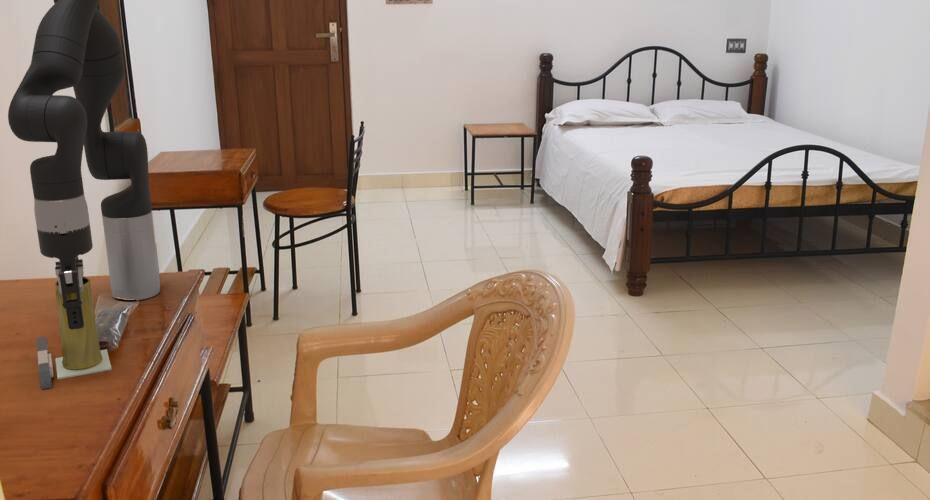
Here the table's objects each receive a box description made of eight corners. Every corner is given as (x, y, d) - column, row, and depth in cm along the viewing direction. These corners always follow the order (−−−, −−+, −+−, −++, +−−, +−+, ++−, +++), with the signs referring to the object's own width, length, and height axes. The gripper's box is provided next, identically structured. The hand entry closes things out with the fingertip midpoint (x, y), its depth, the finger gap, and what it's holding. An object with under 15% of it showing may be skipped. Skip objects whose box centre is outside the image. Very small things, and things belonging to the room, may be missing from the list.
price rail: (39, 354, 137) (36, 336, 136) (51, 352, 138) (48, 334, 137) (41, 389, 125) (38, 370, 124) (54, 387, 126) (52, 368, 125)
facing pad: (55, 359, 135) (55, 358, 135) (106, 350, 139) (106, 349, 138) (57, 379, 128) (57, 378, 128) (111, 369, 132) (111, 368, 132)
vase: (53, 367, 131) (42, 286, 127) (79, 352, 137) (69, 273, 133) (86, 372, 130) (76, 290, 126) (110, 356, 136) (101, 277, 131)
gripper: (38, 213, 130) (52, 305, 135) (34, 238, 118) (49, 338, 123) (88, 209, 133) (100, 299, 138) (90, 233, 121) (102, 331, 126)
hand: (76, 318), depth 131 cm, fingers open, 8 cm apart
